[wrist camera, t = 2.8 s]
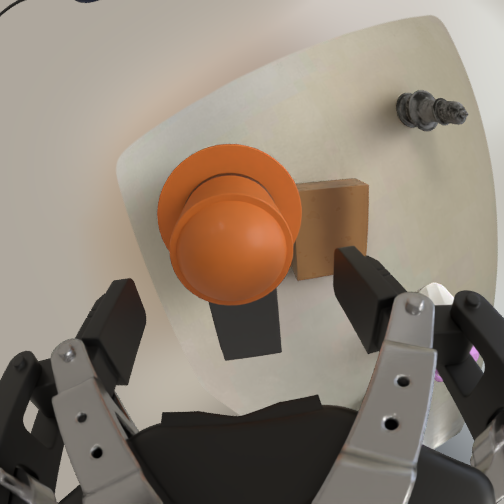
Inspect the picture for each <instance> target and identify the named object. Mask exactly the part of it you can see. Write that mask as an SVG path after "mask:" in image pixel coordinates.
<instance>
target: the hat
mask: <svg viewBox="0 0 504 504" xmlns="http://www.w3.org/2000/svg"><path fill="white" fill-rule="evenodd" d="M157 216H158V225H159V230H160V233H161V236H162V239H163V241H164V243H165V245H166V247H167V249H168V250H169V252H170V259H171V263H172V266H173V269H174V272H175V273H176V275H177V277H178V279H179V280H180V281H181V283H182V284H183V285H184V286H185V287H186V288H187V289H188V290H189V291H190V292H192V293H193V294H194V295H196V296H198V297H199V298H201V299H203V300H205V301H208V302H211V303H215V304H219V305H242V304H247V303H250V302H253V301H256V300H258V299H260V298H263V297H264V296H266V295H267V294H269V293H270V292H272V291H273V290H274V289H275V288H276V287H277V286H278V285H279V284H280V283H281V282H282V280H283V279H284V277H285V276H286V274H287V272H288V270H289V268H290V265H291V262H292V258H293V244H294V243H295V241H296V238H297V236H298V233H299V229H300V226H301V218H302V206H301V199H300V195H299V192H298V189H297V187H296V185H295V182H294V180H293V179H292V177H291V176H290V174H289V173H288V172H287V170H286V169H285V168H284V167H283V166H282V165H281V164H280V163H279V162H278V161H277V160H275V159H274V158H272V157H271V156H269V155H268V154H266V153H264V152H262V151H260V150H258V149H256V148H252V147H249V146H245V145H239V144H222V145H216V146H211V147H208V148H205V149H202V150H200V151H198V152H196V153H194V154H192V155H191V156H189V157H188V158H186V159H185V160H184V161H183V162H181V163H180V164H179V165H178V166H177V167H176V168H175V169H174V170H173V172H172V173H171V174H170V176H169V177H168V179H167V181H166V182H165V184H164V186H163V189H162V191H161V194H160V198H159V202H158V211H157Z"/></svg>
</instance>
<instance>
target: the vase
mask: <svg viewBox="0 0 504 504" xmlns="http://www.w3.org/2000/svg"><path fill="white" fill-rule="evenodd" d="M418 293H421V294H423V295H425V296H427V297H428V298H430V299H431V300H432V302H433V303H434V305H452V303H453V300H454V297H453V296H452V295H451V294H450V293H449V292H448V291H447V289H446V288H445V287H444V286H443V285H441V284H438V283H435V282H433V283H431V284H428V285H426V286H424V287H423V288H422V289H421V290H420V291H419V292H418Z"/></svg>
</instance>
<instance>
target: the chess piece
mask: <svg viewBox="0 0 504 504" xmlns="http://www.w3.org/2000/svg"><path fill="white" fill-rule="evenodd" d="M396 106H397V114H398V116H399V118H400V120H401V121H402V123H404V124H405V125H406V126H408V127H418V128H419V129H421V130H423V131H431V130H433V129H434V128H435V127H436V126H437V124H438V123H439V124H441V125H448V124H449V123H452V124H463V123H464V122H465V120H466V117H467V116H468V113H467V112H466V110H465V108H464V107H463V105H462V104H460V103H459V102H454V101H446V100H445V99H443V98H438V99H436V100H435V98H434V97H433V96H432V95H431V94H430V93H429V92H427V91H424V90H418V91H416V92H414V93H413V94H411V93H404V94H402V95H401V96H400V97H399V99H398V101H397V105H396Z"/></svg>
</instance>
